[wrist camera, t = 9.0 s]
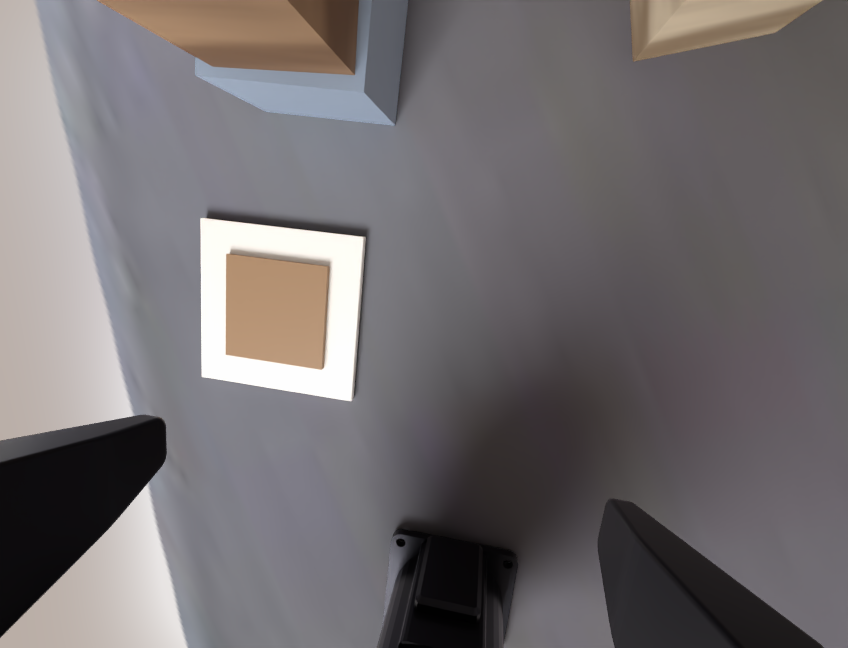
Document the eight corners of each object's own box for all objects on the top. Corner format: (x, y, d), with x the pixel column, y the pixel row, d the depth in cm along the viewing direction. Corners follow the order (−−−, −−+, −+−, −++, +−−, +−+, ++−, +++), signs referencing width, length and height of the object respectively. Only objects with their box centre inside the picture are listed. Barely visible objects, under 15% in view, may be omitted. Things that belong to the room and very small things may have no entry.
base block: (395, 126, 19) (363, 92, 14) (266, 112, 20) (194, 75, 15) (412, -33, 18) (383, -128, 13) (273, -41, 19) (196, -135, 14)
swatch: (353, 398, 22) (349, 403, 22) (206, 374, 23) (198, 378, 23) (366, 237, 20) (361, 237, 20) (205, 218, 21) (196, 217, 21)
